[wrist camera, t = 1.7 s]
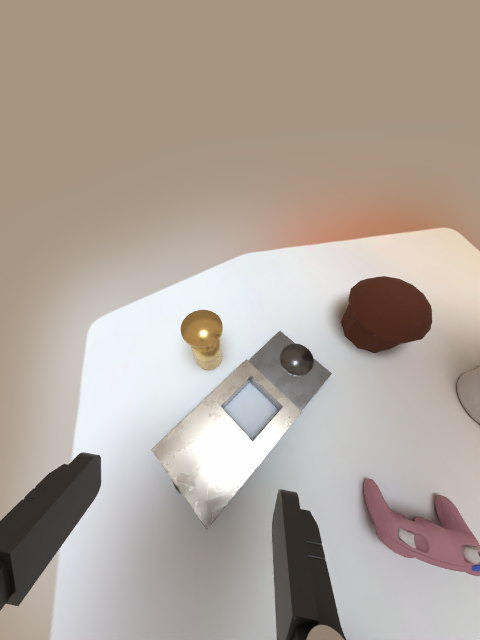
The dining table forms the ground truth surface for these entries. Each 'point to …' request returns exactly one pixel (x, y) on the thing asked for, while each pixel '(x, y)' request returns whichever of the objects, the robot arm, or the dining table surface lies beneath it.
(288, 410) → the plate
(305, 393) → the link plate lower
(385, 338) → the muffin
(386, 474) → the dining table surface
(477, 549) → the video game controller
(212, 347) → the brass pin
